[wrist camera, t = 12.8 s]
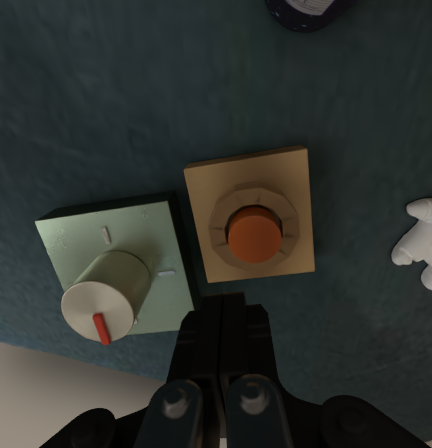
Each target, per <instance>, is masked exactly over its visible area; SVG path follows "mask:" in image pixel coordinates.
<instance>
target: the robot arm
mask: <svg viewBox="0 0 432 448" xmlns="http://www.w3.org/2000/svg"><path fill="white" fill-rule="evenodd" d="M220 438H227V448H431V447H430V446H428V445H427V444H426V443H424V442H423V441H421V440H420V439H419V438H417V437H416V436H414V435H413V434H412V433H410V432H409V431H407V430H406V429H405V428H403V427H402V426H400V425H399V424H398V423H396V422H395V421H393V420H392V419H391V418H389V417H388V416H386V415H385V414H384V413H382V412H381V411H379V410H378V409H377V408H375V407H374V406H372V405H371V404H369V403H368V402H366V401H364V400H362V399H360V398H357V397H354V396H349V395H338V396H334V397H331V398H329V399H328V400H326V401H325V402H324V403H323V405H318V404H314V403H310V402H306V401H303V400H300V399H298V398H296V397H294V396H293V395H291V394H290V393H289V392H287V391H286V390H285V388H284V387H283V386H282V384H281V383H280V381H279V378H278V374H277V368H276V362H275V355H274V349H273V343H272V337H271V330H270V324H269V318H268V313H267V312H266V310H265V309H264V308H263V307H262V305H261V304H255V305H246V299H245V293H244V291H240V292H230V293H224V295H223V293H220V294H210V295H203V296H202V302H201V307H200V310H192V311H189V312H188V313H187V315H186V316H185V317H184V319H183V320H182V321H181V325H180V329H179V335H178V337H177V341H176V345H175V349H174V353H173V357H172V361H171V365H170V369H169V373H168V377H167V381H166V384H164V385H163V386H161V387H160V388H159V389H158V390H157V391H156V392H155V393H154V395H153V397H152V398H151V401H150V403H149V405H148V406H147V407H146V408H144V409H142V410H139V411H137V412H134V413H132V414H129V415H126V416H124V417H121V418H118V419H115V417H114V415H113V414H112V413H111V412H110V411H109V410H107V409H104V408H95V409H91V410H88V411H86V412H84V413H82V414H80V415H79V416H77V417H76V418H75V419H73V420H72V421H71V422H70V423H68V424H67V425H66V426H65V427H63V428H62V429H61V430H60V431H59V432H58V433H56V434H55V435H54V436H53V437H51V438H50V439H49V440H48V441H47V442H45V443H44V444H43V445H42V446H40V447H39V448H219V446H220Z"/></svg>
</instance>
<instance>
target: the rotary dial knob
mask: <svg viewBox="0 0 432 448" xmlns="http://www.w3.org/2000/svg"><path fill="white" fill-rule="evenodd" d="M150 287H151V277H150V274H149V271H148V269H147V268H146V266H145V265H144V264H143V262H141V261H140V260H139V259H138V258H137V257H135V256H133V255H131V254H129V253H126V252H121V251H111V252H106V253H103V254H101V255H100V256H98V257H97V258H96V259H95V260H94V261H93V262H92V263H91V264H90V265H89V267H88V268H87V269H86V270H85V271H84V272H83V273H82V274H81V275H80V276H79V277H78V278H77V280H76V281H75V282H74V283H73V284H72V285H71V286H70V287H69V288H68V289H67V291H66V292H65V293H64V295H63V298H62V302H61V309H62V313H63V316H64V318H65V320H66V321H67V323H68V324H69V325H70V327H71V328H72V329H73V330H75V331H76V332H77V333H79V334H80V335H82V336H84V337H86V338H88V339H91V340H95V341H101V342H102V345H106V344H110V342H111V341H114V340H118V339H120V338H122V337H124V336H125V335H126V334H127V333H128V332H129V331H130V330H131V328H132V326H133V324H134V322H135V320H136V318H137V316H138V314H139V312H140V309H141V307H142V305H143V303H144V301H145V299H146V297H147V295H148V293H149V290H150Z"/></svg>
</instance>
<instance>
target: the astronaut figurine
mask: <svg viewBox="0 0 432 448" xmlns="http://www.w3.org/2000/svg"><path fill="white" fill-rule="evenodd" d="M406 209H407V213H408V214H410V215H411V216H414V217H416V218H418V219H419V221H418V222H417V224H416V225H415V226H414V227H413V228H412V229H411V230H410V231H409V232H408V233H406V234H405V235H404V236H403V237H402V239H401V240H400V241H399V242H398V243H397V244H396V246H395V247H394V249H393V251H392V260H393V262H394V263H395V264H397V265H402V264H406V265H409V264H411V263H412V260H414V261H416V262H418V261H421V260H425V262H426V263H427V264H429V265H428V266H427V267H426V268H425V270H424V271H423V273H422V275H421V281H422V283H423V284H424V286H425V287H426V288H428V289H431V290H432V198H426V199H420V200H416V201H414V202H412V203H410V204H408V205H407V207H406Z"/></svg>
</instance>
